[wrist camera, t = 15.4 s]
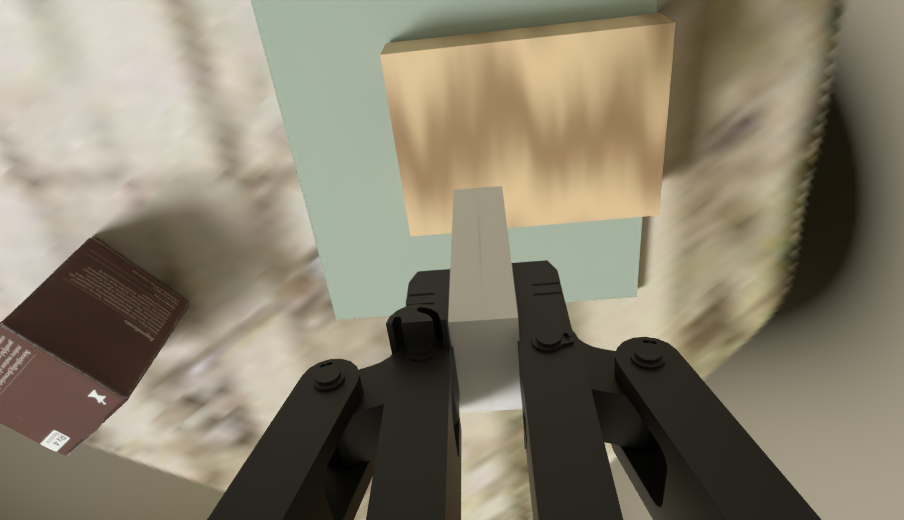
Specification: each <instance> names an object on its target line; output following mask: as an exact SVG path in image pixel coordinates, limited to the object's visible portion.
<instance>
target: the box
mask: <svg viewBox="0 0 904 520" xmlns="http://www.w3.org/2000/svg"><path fill="white" fill-rule="evenodd" d="M188 307H189V303H188V302H187V301H186V300H185V299H183V298H182V297H180V296H179V295H177V294H176V293H175V292H173V291H172V290H170V289H169V288H167V287H166V286H164V285H163V284H161V283H160V282H158V281H157V280H155V279H154V278H152V277H151V276H149V275H148V274H146V273H145V272H143V271H142V270H140V269H139V268H137V267H136V266H135V265H133V264H132V263H130V262H128V261H127V260H126V259H124V258H123V257H122V256H120V255H119V254H117V253H116V252H114V251H113V250H112V249H110V248H109V247H107V246H106V245H104V244H103V243H101V242H100V241H98V240H96V239H95V238H89V239H88V240H87V241H86V242H85V243H84V244H83V245H82V246H81V247H80V248H79V249H78V250H76V251H75V252H74V253H73V254H72V255H71V256H70V257H69V258H68V259H67V260H66V261H65V262H64V263H63V264H62V265H61V266H60V267H59V268H58V269H57V270H56V271H55V272H54V273H53V274H51V275H50V276H49V277H48V278H47V279H46V280H45V281H44V282H43V283H42V284H41V285H40V286H39V287H38V288H37V289H36V290H35V291H34V292H33V293H32V294H31V295H30V296H29V297H28V298H27V299H26V300H24V301H23V302H22V303H21V304H20V305H19V306H18V307H17V308H16V309H15V310H14V311H13V312H12V313H11V314H10V315H9V316H7V317H6V318H5V319H4V320H3V321H1V322H0V423H1V424H3V425H5V426H7V427H9V428H11V429H13V430H15V431H16V432H19V433H20V434H22V435H24V436H26V437H28V438H30V439H32V440H34V441H35V442H38V443H39V444H41V445H43V446H45V447H47V448H49V449H51V450H53V451H56V452H58V453H61V454H63V455H70V454H71V453H72V452H73V451H74V450H75V449H76V448H77V447H78V446H79V445H80V444H81V443H82V442H83V441H85V440H86V439H87V438H88V437H89V436H90V435H91V434H93V433H94V432H95V431H97V430H98V429H99V427H100V426H101V424H102V423H104V422H105V421H106V420H107V419H108V418H109V417H110V416H111V415H112V414H113V413H114V412H116V411H117V410H118V409H119V408H120V407H121V406H122V405H123V404H124V403H125V402H126V401H127V400H128V399H129V397H130V395H131V394H132V392H133V391H134V389H135V388H136V386H137V385H138V383H139V382H140V380H141V379H142V377H143V376H144V374H145V373H146V371H147V370H148V368H149V367H150V365H151V364H152V362H153V360H154V359H155V358H156V356H157V355H158V353H159V352H160V350H161V348H162V347H163V346H164V344H165V342H166V341H167V339H168V337H169V336H170V334H171V333H172V331H173V330H174V328H175V326H176V325H177V323H178V322H179V320H180V319H181V317H182V316H183V314H184V313H185V311H186V310H187V308H188Z"/></svg>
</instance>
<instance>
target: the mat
mask: <svg viewBox="0 0 904 520" xmlns="http://www.w3.org/2000/svg"><path fill="white" fill-rule="evenodd" d="M251 3H252V6H253V10H254V14H255V18H256V21H257V25H258V29H259V33H260V36H261V40H262V44H263V48H264V51H265V55H266V59H267V62H268V66H269V70H270V74H271V77H272V81H273V85H274V89H275V92H276V96H277V100H278V103H279V107H280V111H281V115H282V118H283V122H284V126H285V130H286V133H287V137H288V141H289V145H290V148H291V152H292V156H293V159H294V163H295V167H296V171H297V174H298V178H299V182H300V186H301V189H302V193H303V197H304V201H305V204H306V208H307V212H308V215H309V219H310V223H311V227H312V230H313V234H314V238H315V242H316V245H317V249H318V253H319V256H320V260H321V264H322V268H323V271H324V275H325V279H326V283H327V286H328V290H329V294H330V298H331V301H332V305H333V309H334V312H335V316H336V320H339V319H352V318H365V317H378V316H391V315H392V314H393V313H395V312H396V311H397V310H399V309H401V308H403V307H406V298H407V291H408V284H409V282H410V280H411V279H412V278H413V277H414V275H415V274H416V273H417V272H418V271H430V270H443V269H450V263H451V239H452V233H446V234H434V235H422V236H410V230H409V224H408V218H407V212H406V207H405V201H404V195H403V189H402V183H401V177H400V171H399V165H398V159H397V153H396V147H395V141H394V135H393V129H392V123H391V117H390V111H389V105H388V99H387V94H386V88H385V82H384V76H383V70H382V64H381V58H380V54H381V52H382V50H383V48H384V46H385V44H386V43H391V42H400V41H409V40H418V39H427V38H436V37H445V36H455V35H464V34H473V33H482V32H491V31H500V30H509V29H518V28H527V27H536V26H545V25H554V24H564V23H573V22H582V21H591V20H600V19H609V18H618V17H627V16H636V15H645V14H654V13H657V3H658V0H251ZM507 230H508V238H509V246H510V255H511V263H517V262H530V261H543V260H548V261H549V262H550V263H551V264H552V265H553V266H554V267H555V268H556V269H557V270H558V274H559V278H560V284H561V287H562V291H563V295H564V299H565V302H576V301H589V300H602V299H615V298H628V297H637V286H638V272H639V258H640V244H641V230H642V217H633V218H621V219H609V220H598V221H586V222H574V223H563V224H551V225H539V226H528V227H516V228H507Z"/></svg>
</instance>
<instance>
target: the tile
mask: <svg viewBox="0 0 904 520" xmlns="http://www.w3.org/2000/svg"><path fill="white" fill-rule="evenodd" d="M675 26H676V22H674V21H672V20H671V19H669V18H668V17H666V16H665V15H663V14H662V13H654V14H645V15H636V16H627V17H618V18H609V19H600V20H591V21H582V22H573V23H564V24H554V25H545V26H536V27H527V28H518V29H509V30H500V31H491V32H482V33H473V34H464V35H455V36H445V37H436V38H427V39H418V40H409V41H400V42H391V43H386V44H385V46H384V48H383V50H382V52H381V54H380V58H381V64H382V70H383V76H384V82H385V88H386V94H387V99H388V105H389V111H390V117H391V123H392V129H393V135H394V141H395V147H396V153H397V159H398V165H399V171H400V177H401V183H402V189H403V195H404V201H405V207H406V212H407V218H408V224H409V230H410V236H422V235H434V234H446V233H452V214H453V190H460V189H472V188H484V187H495V186H502V189H503V197H504V205H505V214H506V222H507V228H516V227H528V226H539V225H551V224H563V223H574V222H586V221H598V220H609V219H621V218H633V217H644V216H656V215H659V209H660V198H661V187H662V175H663V164H664V152H665V141H666V129H667V118H668V106H669V95H670V83H671V72H672V60H673V49H674V38H675Z"/></svg>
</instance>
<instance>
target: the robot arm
mask: <svg viewBox="0 0 904 520" xmlns="http://www.w3.org/2000/svg"><path fill="white" fill-rule="evenodd" d="M386 326H387V331H388V336H389V341H390V346H391V350H392V355H391V356H390V357H389V358H387V359H386V360H384V361H382V362H381V363H378V364H375V365H373V366H370V367H366V368H363V369H360V370H358V368H357V366H356V365H354V364H353V363H352V362H351V361H347V360H344V359H330V360H326V361H323V362H320V363H318V364H316V365H314V366H312V367H311V368H309V369H308V370H307V371H306V372H305V373H304V374H303V375H302V377H301V378H300V380H299V381H298V383H297V384H296V386H295V387H294V389H293V390H292V392H291V393H290V395H289V396H288V398H287V399H286V401H285V402H284V404H283V406H282V407H281V409H280V410H279V412H278V413H277V415H276V416H275V418H274V419H273V421H272V422H271V424H270V425H269V427H268V428H267V430H266V431H265V433H264V434H263V436H262V437H261V439H260V440H259V442H258V443H257V445H256V446H255V448H254V449H253V451H252V453H251V454H250V456H249V457H248V459H247V460H246V462H245V463H244V465H243V466H242V468H241V469H240V471H239V472H238V474H237V475H236V477H235V478H234V480H233V481H232V483H231V484H230V486H229V487H228V489H227V490H226V492H225V493H224V495H223V496H222V498H221V499H220V501H219V503H218V504H217V506H216V507H215V509H214V510H213V512H212V513H211V515H210V516H209V518H208V519H207V520H354V518H355V516H356V513H357V511H358V509H359V506H360V504H361V502H362V499H363V497H364V495H365V493H366V490H367V488H368V486H369V483H370V481H371V479H372V476H373V479H372V485H371V492H370V498H369V505H368V511H367V517H366V520H461V424H460V417H459V407H460V413H462V412H479V411H496V410H513V409H523V425H524V443H525V449H526V455H527V464H528V474H529V484H530V493H531V503H532V512H533V520H623V517H622V513H621V509H620V505H619V501H618V497H617V493H616V488H615V484H614V480H613V476H612V473H611V468H610V464H609V460H608V456H607V452H606V448H605V444H604V442H606V443H611V445H612V448H613V451H614V453H615V454H616V456H617V458H618V459H619V461H620V463H621V465H622V466H623V468H624V470H625V472H626V473H627V475H628V477H629V479H630V480H631V482H632V484H633V486H634V487H635V489H636V491H637V492H638V494H639V496H640V498H641V499H642V501H643V503H644V505H645V506H646V508H647V510H648V511H649V513H650V515H651V517H652V518H653V520H821V519H820V517H819V516H818V515H817V514H816V513H815V512H814V510H813V509H812V508H811V507H810V506H809V505H808V503H807V502H806V501H805V500H804V499H803V497H802V496H801V495H800V494H799V493H798V492H797V490H796V489H794V487H793V486H792V485H791V483H790V482H789V481H788V480H787V479H786V478H785V476H784V475H783V474H782V473H781V472H780V471H779V469H778V468H777V467H776V466H775V465H774V463H773V462H772V461H771V460H770V459H769V458H768V457H767V455H766V454H765V453H764V452H763V451H762V449H761V448H760V447H759V446H758V445H757V444H756V442H755V441H754V440H753V439H752V438H751V437H750V435H749V434H748V433H747V432H746V431H745V429H744V428H743V427H742V426H741V425H740V424H739V422H738V421H737V420H736V419H735V418H734V417H733V416H732V414H731V413H730V412H729V411H728V409H727V408H726V407H725V406H724V405H723V404H722V402H721V401H720V400H719V399H718V398H717V397H716V395H715V394H714V393H713V392H712V391H711V390H710V388H709V387H708V386H707V385H706V384H705V382H704V381H703V380H702V379H701V378H700V377H699V375H698V374H697V373H696V372H695V371H694V370H693V368H692V367H691V366H690V365H689V364H688V363H687V361H686V360H685V359H684V358H683V357H682V355H681V354H680V353H679V352H678V351H677V350H676V349H675V348H674V347H672V346H671V345H670V344H669V343H666V342H664V341H662V340H659V339H656V338H649V337H638V338H632V339H629V340H627V341H624V342H623V343H622V344H621V345H620V346H619V347H618V348H617V350H616V351H611V350H605V349H600V348H596V347H592V346H590V345H588V344H585V343H584V342H582V341H581V340H579V339H578V337H577V336H576V334H575V333H574V332H573V330H572V328H571V324H570V320H569V316H568V312H567V308H566V303H565V299H564V295H563V291H562V287H561V284H560V278H559V274H558V270H557V269H556V268H555V267H554V266H553V265H552V264H551V263H550V262H549V261H548V260H543V261H530V262H517V263H511V255H510V246H509V238H508V230H507V222H506V214H505V205H504V197H503V189H502V186H495V187H484V188H472V189H460V190H453V214H452V239H451V263H450V269H443V270H430V271H418V272H417V273H416V274H415V275H414V277H413V278H412V279H411V280H410V282H409V284H408V291H407V298H406V307H403V308H401V309H399V310H397V311H396V312H395V313H393V314H392V315H391V316H390V317H389V319H388V321H387V323H386Z"/></svg>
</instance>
